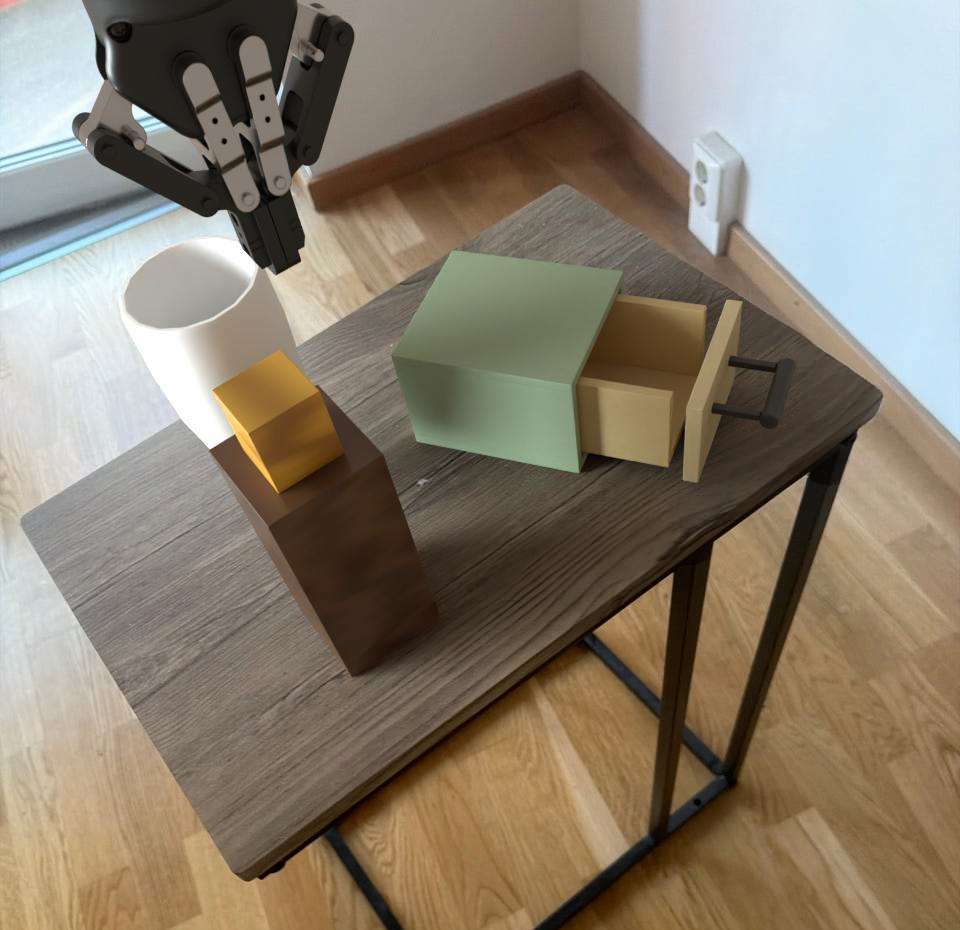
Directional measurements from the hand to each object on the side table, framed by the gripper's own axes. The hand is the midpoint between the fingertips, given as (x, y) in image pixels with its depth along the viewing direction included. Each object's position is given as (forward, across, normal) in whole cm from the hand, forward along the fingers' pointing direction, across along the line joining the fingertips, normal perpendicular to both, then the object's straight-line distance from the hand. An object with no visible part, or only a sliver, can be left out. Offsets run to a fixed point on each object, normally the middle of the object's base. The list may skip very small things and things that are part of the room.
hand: (281, 261), depth 46 cm
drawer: (+28, +25, -1) cm, 38 cm away
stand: (+30, -3, 0) cm, 30 cm away
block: (+12, -3, 0) cm, 12 cm away
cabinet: (+29, +19, +9) cm, 36 cm away
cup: (+30, -2, +14) cm, 33 cm away
